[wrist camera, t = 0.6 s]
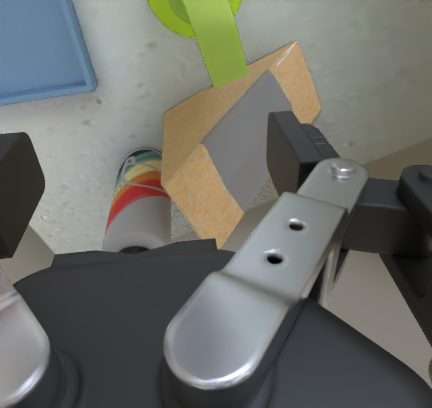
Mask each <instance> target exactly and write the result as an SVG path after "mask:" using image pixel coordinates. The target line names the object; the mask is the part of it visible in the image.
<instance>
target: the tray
mask: <svg viewBox="0 0 432 408" xmlns="http://www.w3.org/2000/svg"><path fill="white" fill-rule="evenodd" d="M97 85H98V84H97V81H96V77H95V74H94V71H93V68H92V64H91V61H90V58H89V55H88V52H87V48H86V45H85V42H84V39H83V35H82V32H81V29H80V26H79V22H78V19H77V16H76V13H75V10H74V6H73V3H72V0H0V106H1V105H7V104H14V103H20V102H26V101H33V100H39V99H46V98H52V97H58V96H65V95H71V94H77V93H84V92H90V91H95V89H96V87H97Z"/></svg>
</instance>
